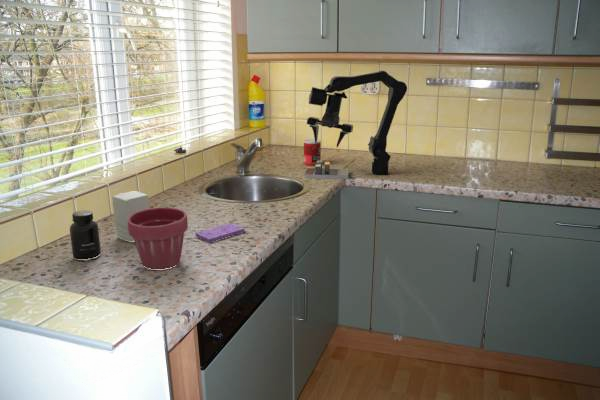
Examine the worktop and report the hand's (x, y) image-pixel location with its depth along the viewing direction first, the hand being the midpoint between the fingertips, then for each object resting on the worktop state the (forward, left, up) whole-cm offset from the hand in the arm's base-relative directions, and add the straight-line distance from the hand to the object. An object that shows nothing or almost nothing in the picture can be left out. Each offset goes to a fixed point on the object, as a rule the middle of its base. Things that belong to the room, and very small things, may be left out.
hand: (326, 145), depth 212 cm
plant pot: (+34, +97, -13) cm, 103 cm away
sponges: (+25, +75, -14) cm, 80 cm away
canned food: (+8, -19, -13) cm, 25 cm away
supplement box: (+49, +80, -13) cm, 94 cm away
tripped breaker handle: (-1, +1, -11) cm, 11 cm away
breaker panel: (-1, +1, -13) cm, 13 cm away
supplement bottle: (+55, +95, -13) cm, 110 cm away
